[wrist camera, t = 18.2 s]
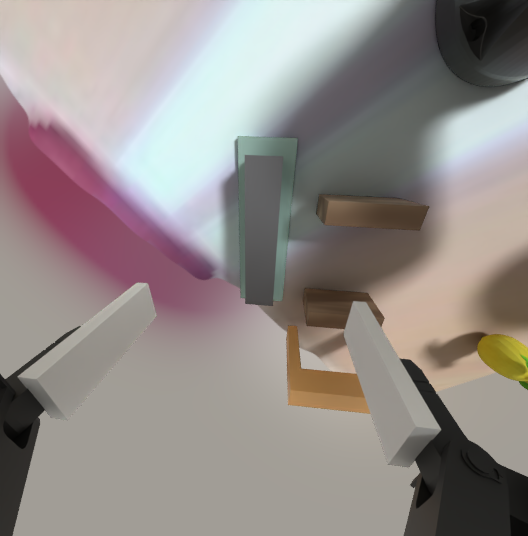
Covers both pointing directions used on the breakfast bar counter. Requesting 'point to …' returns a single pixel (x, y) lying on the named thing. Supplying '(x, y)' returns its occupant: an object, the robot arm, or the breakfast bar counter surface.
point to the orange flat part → (321, 384)
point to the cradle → (356, 215)
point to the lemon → (505, 357)
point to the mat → (288, 151)
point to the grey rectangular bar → (261, 226)
